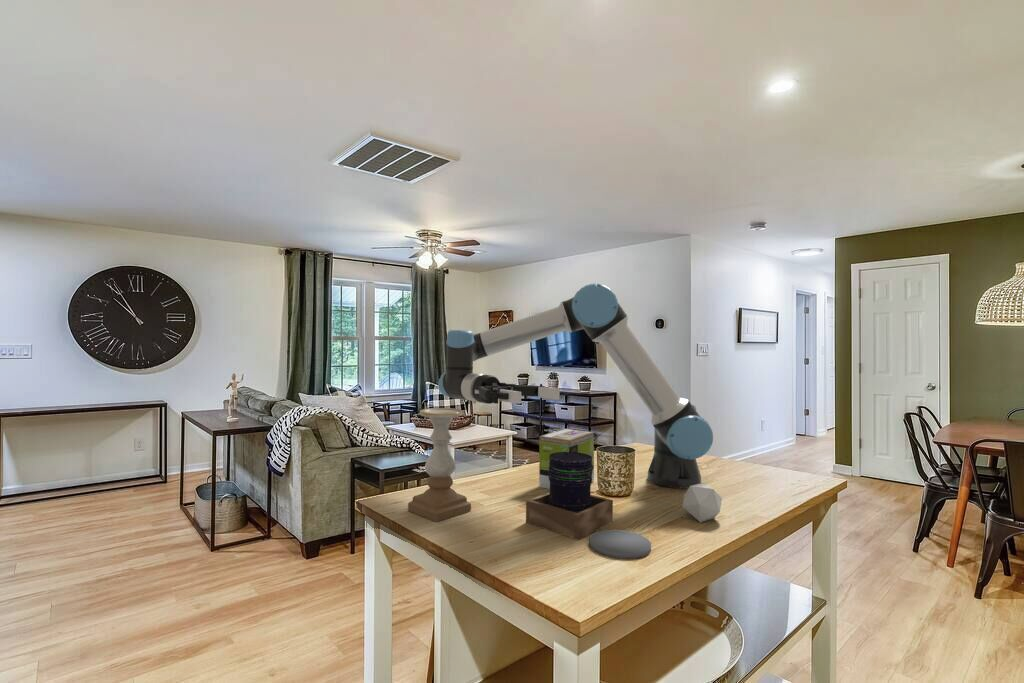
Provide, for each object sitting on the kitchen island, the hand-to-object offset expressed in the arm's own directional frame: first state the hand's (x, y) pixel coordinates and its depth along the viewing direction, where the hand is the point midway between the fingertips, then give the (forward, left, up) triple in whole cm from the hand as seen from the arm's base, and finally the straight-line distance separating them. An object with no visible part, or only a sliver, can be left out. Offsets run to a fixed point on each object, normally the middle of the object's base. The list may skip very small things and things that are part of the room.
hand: (540, 396), depth 123 cm
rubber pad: (+5, +25, -28) cm, 37 cm away
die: (-23, +31, -28) cm, 48 cm away
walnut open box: (+1, +10, -28) cm, 29 cm away
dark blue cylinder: (+1, +10, -28) cm, 30 cm away
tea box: (-24, -8, -28) cm, 38 cm away
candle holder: (+16, -17, -28) cm, 36 cm away
